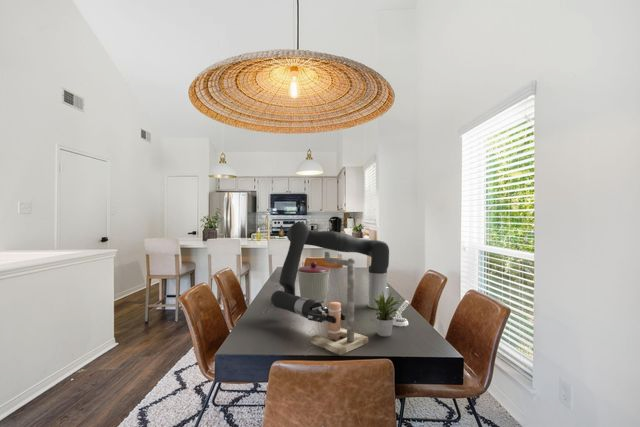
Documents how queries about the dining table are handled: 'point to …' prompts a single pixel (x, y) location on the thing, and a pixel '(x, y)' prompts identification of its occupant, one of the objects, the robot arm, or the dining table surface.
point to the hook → (399, 316)
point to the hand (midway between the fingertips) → (340, 318)
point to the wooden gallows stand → (350, 337)
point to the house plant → (384, 314)
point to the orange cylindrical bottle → (335, 327)
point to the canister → (313, 282)
